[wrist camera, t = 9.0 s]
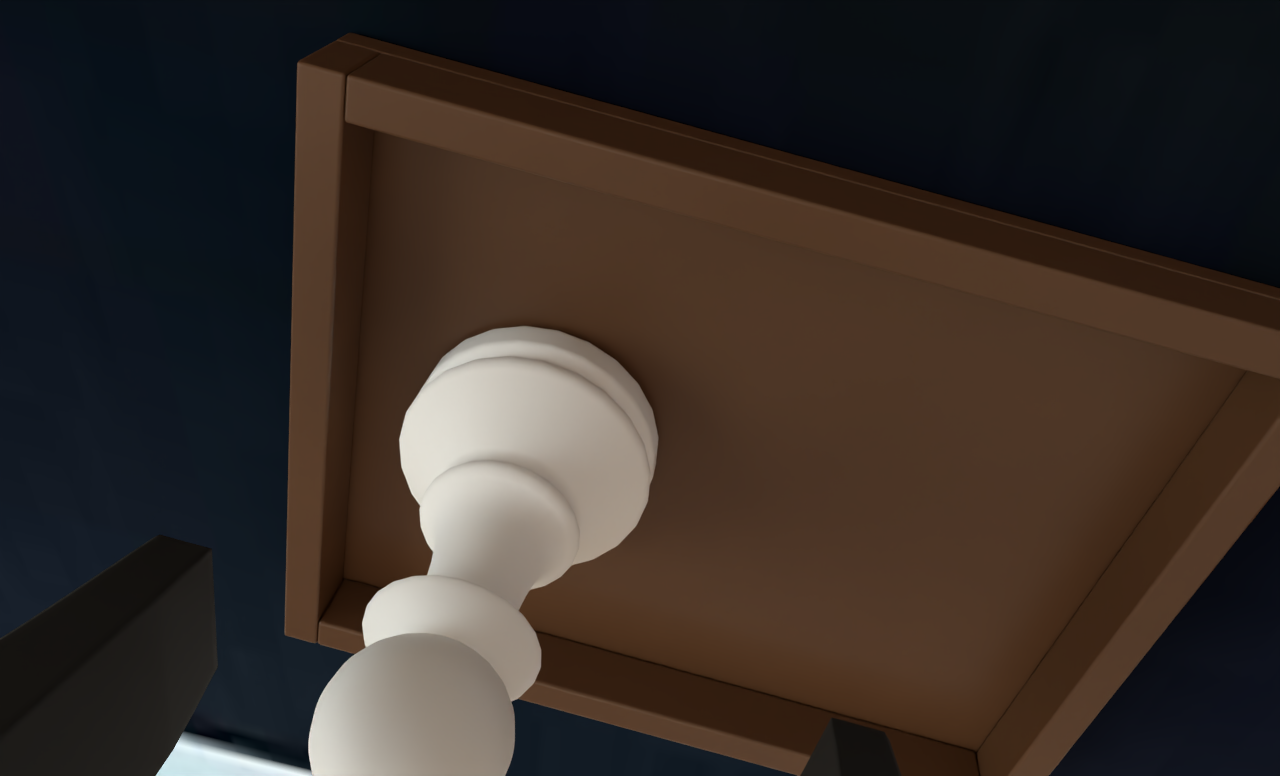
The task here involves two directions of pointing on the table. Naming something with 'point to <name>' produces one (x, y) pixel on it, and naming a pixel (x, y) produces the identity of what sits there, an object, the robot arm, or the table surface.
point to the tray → (774, 417)
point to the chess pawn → (487, 549)
